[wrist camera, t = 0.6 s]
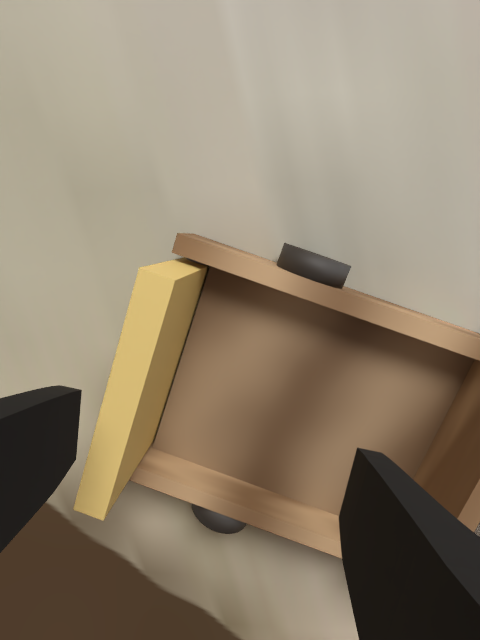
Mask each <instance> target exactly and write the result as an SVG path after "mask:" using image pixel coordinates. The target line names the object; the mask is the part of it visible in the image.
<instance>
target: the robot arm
mask: <svg viewBox="0 0 480 640" xmlns="http://www.w3.org/2000/svg"><path fill="white" fill-rule="evenodd" d="M81 391H82V390H79V389H74V388H70V387H65V386H60V385H59V386H51V387H45V388H41V389H36V390H32V391H28V392H24V393H20V394H16V395H12V396H8V397H4V398H0V553H1V551H2V550H3V549H4V548H5V547H6V546H7V545H8V544H9V542H10V541H11V540H12V539H13V538H14V537H15V536H16V535H17V533H18V532H19V531H20V530H21V529H22V528H23V527H24V526H25V525H26V523H27V522H28V521H29V520H30V519H31V518H32V517H33V515H34V514H35V513H36V512H37V511H38V510H39V509H40V507H41V506H42V505H43V504H44V503H45V502H46V501H47V499H48V498H49V497H50V496H51V495H52V494H53V492H54V491H55V490H56V488H57V487H58V485H59V484H60V482H61V481H62V480H63V478H64V477H65V475H66V474H67V472H68V471H69V469H70V468H71V466H72V464H73V463H74V461H75V460H76V453H77V440H78V428H79V416H80V403H81ZM339 530H340V543H341V553H342V560H343V566H344V570H345V575H346V580H347V585H348V590H349V594H350V599H351V604H352V608H353V613H354V618H355V622H356V627H357V631H358V636H359V640H480V537H479V536H477V535H476V534H475V533H474V532H473V531H471V530H470V529H469V528H468V527H466V526H465V525H464V524H463V523H462V522H460V521H459V520H458V519H457V518H456V517H455V516H453V515H452V514H451V513H450V512H449V511H448V510H446V509H445V508H444V507H443V506H442V505H441V504H440V503H438V502H437V501H436V500H435V499H434V498H433V497H432V496H431V495H430V494H428V493H427V492H426V491H425V490H424V489H423V488H422V487H421V486H420V485H419V484H417V483H416V482H415V481H414V480H413V479H412V478H411V477H410V476H409V475H408V474H407V473H405V472H404V471H403V470H402V469H401V468H400V467H399V466H398V465H397V464H395V463H394V462H393V461H392V460H391V459H390V458H388V457H387V456H386V455H384V454H383V453H381V452H376V451H371V450H367V449H362V448H357V450H356V454H355V457H354V461H353V465H352V469H351V472H350V476H349V480H348V484H347V487H346V491H345V495H344V499H343V503H342V506H341V510H340V514H339Z"/></svg>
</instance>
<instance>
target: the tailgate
mask: <svg viewBox="0 0 480 640" xmlns="http://www.w3.org/2000/svg"><path fill="white" fill-rule="evenodd" d="M208 268H209V266H208V265H206V264H203V263H200V262H198V261H195V260H192V259H189V258H185V257H184V258H180V259H175V260H171V261H167V262H162V263H158V264H153V265H149V266H145V267H140V268H139V270H138V274H137V277H136V281H135V285H134V288H133V292H132V296H131V299H130V303H129V307H128V310H127V314H126V318H125V321H124V325H123V329H122V332H121V336H120V340H119V343H118V347H117V351H116V354H115V358H114V362H113V365H112V369H111V373H110V376H109V380H108V384H107V387H106V391H105V395H104V398H103V402H102V406H101V409H100V413H99V417H98V420H97V424H96V428H95V431H94V435H93V439H92V442H91V446H90V450H89V453H88V457H87V461H86V464H85V468H84V472H83V475H82V479H81V483H80V486H79V490H78V494H77V497H76V501H75V505H74V508H73V510H76V511H78V512H81V513H84V514H86V515H89V516H92V517H94V518H97V519H100V520H103V521H104V519H105V518H106V516H107V514H108V513H109V511H110V509H111V508H112V506H113V505H114V503H115V501H116V500H117V498H118V497H119V495H120V493H121V492H122V490H123V489H124V487H125V485H126V484H127V482H128V480H129V479H130V477H131V476H132V474H133V472H134V471H135V469H136V468H137V466H138V464H139V463H140V461H141V460H142V458H143V456H144V455H145V453H146V451H147V450H148V448H149V447H150V445H151V443H152V442H153V440H154V439H155V436H156V432H157V429H158V426H159V423H160V420H161V417H162V414H163V410H164V407H165V404H166V401H167V398H168V395H169V391H170V388H171V385H172V382H173V379H174V376H175V373H176V369H177V366H178V363H179V360H180V357H181V354H182V350H183V347H184V344H185V341H186V338H187V335H188V331H189V328H190V325H191V322H192V319H193V316H194V313H195V309H196V306H197V303H198V300H199V297H200V294H201V290H202V287H203V284H204V281H205V278H206V275H207V272H208Z"/></svg>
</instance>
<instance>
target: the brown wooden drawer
mask: <svg viewBox="0 0 480 640" xmlns="http://www.w3.org/2000/svg"><path fill="white" fill-rule="evenodd" d="M172 253H175V254H178V255H181V256H183V257H186V258H189V259H192V260H195V261H198V262H200V263H203V264H206V265H209V266H210V268H209V271H208V275H207V278H206V281H205V284H204V287H203V290H202V293H201V297H200V300H199V303H198V306H197V309H196V312H195V315H194V319H193V322H192V325H191V328H190V331H189V334H188V338H187V341H186V344H185V347H184V350H183V353H182V356H181V360H180V363H179V366H178V369H177V372H176V375H175V378H174V382H173V385H172V388H171V391H170V394H169V397H168V401H167V404H166V407H165V410H164V413H163V416H162V419H161V423H160V426H159V429H158V432H157V435H156V436H155V439H154V440H153V442H152V443H151V445H150V447H149V448H148V450H147V451H146V453H145V455H144V456H143V458H142V460H141V461H140V463H139V464H138V466H137V468H136V469H135V471H134V472H133V474H132V476H131V477H130V479H129V480H130V481H133V482H135V483H138V484H141V485H144V486H146V487H149V488H152V489H154V490H157V491H160V492H163V493H165V494H168V495H171V496H173V497H176V498H179V499H182V500H184V501H187V502H190V503H192V509H193V512H194V514H195V516H196V517H197V519H198V520H199V521H200V522H201V523H202V524H203V525H205V526H206V527H207V528H209V529H211V530H213V531H216V532H219V533H225V534H232V533H236V532H239V531H241V530H242V529H243V528H244V527H245V526H246V524H249V525H252V526H255V527H257V528H260V529H263V530H266V531H268V532H271V533H274V534H276V535H279V536H282V537H285V538H287V539H290V540H293V541H295V542H298V543H301V544H304V545H306V546H309V547H312V548H314V549H317V550H320V551H323V552H325V553H328V554H331V555H333V556H336V557H339V558H342V553H341V543H340V530H339V514H340V510H341V506H342V503H343V499H344V495H345V491H346V487H347V484H348V480H349V476H350V472H351V469H352V465H353V461H354V457H355V454H356V450H357V448H362V449H367V450H371V451H376V452H381V453H383V454H384V455H386V456H387V457H388V458H390V459H391V460H392V461H393V462H394V463H395V464H397V465H398V466H399V467H400V468H401V469H402V470H403V471H404V472H405V473H407V474H408V475H409V476H410V477H411V478H412V479H413V480H414V481H415V482H416V483H417V484H419V485H420V486H421V487H422V488H423V489H424V490H425V491H426V492H427V493H428V494H430V495H431V496H432V497H433V498H434V499H435V500H436V501H437V502H438V503H440V504H441V505H442V506H443V507H444V508H445V509H446V510H448V511H449V512H450V513H451V514H452V515H453V516H455V517H456V518H457V519H458V520H459V521H460V522H462V523H463V524H464V525H465V526H466V527H468V528H469V529H470V530H471V531H473V532H474V531H475V529H476V528H477V526H478V524H479V522H480V334H479V333H476V332H473V331H470V330H467V329H464V328H462V327H459V326H456V325H453V324H450V323H447V322H444V321H442V320H439V319H436V318H433V317H430V316H427V315H424V314H422V313H419V312H416V311H413V310H410V309H407V308H404V307H402V306H399V305H396V304H393V303H390V302H387V301H384V300H382V299H379V298H376V297H373V296H370V295H367V294H364V293H362V292H359V291H356V290H353V289H350V288H347V287H344V286H343V285H344V283H345V280H346V278H347V275H348V273H349V270H350V268H351V266H349V265H346V264H344V263H341V262H338V261H336V260H333V259H330V258H327V257H324V256H321V255H319V254H316V253H313V252H310V251H307V250H304V249H301V248H298V247H295V246H292V245H289V244H286V243H284V246H283V248H282V251H281V254H280V257H279V260H278V262H277V263H276V262H273V261H270V260H267V259H264V258H262V257H259V256H256V255H253V254H250V253H247V252H244V251H242V250H239V249H236V248H233V247H230V246H227V245H224V244H222V243H219V242H216V241H213V240H210V239H207V238H204V237H202V236H199V235H196V234H185V233H177V236H176V240H175V243H174V247H173V250H172Z"/></svg>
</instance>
